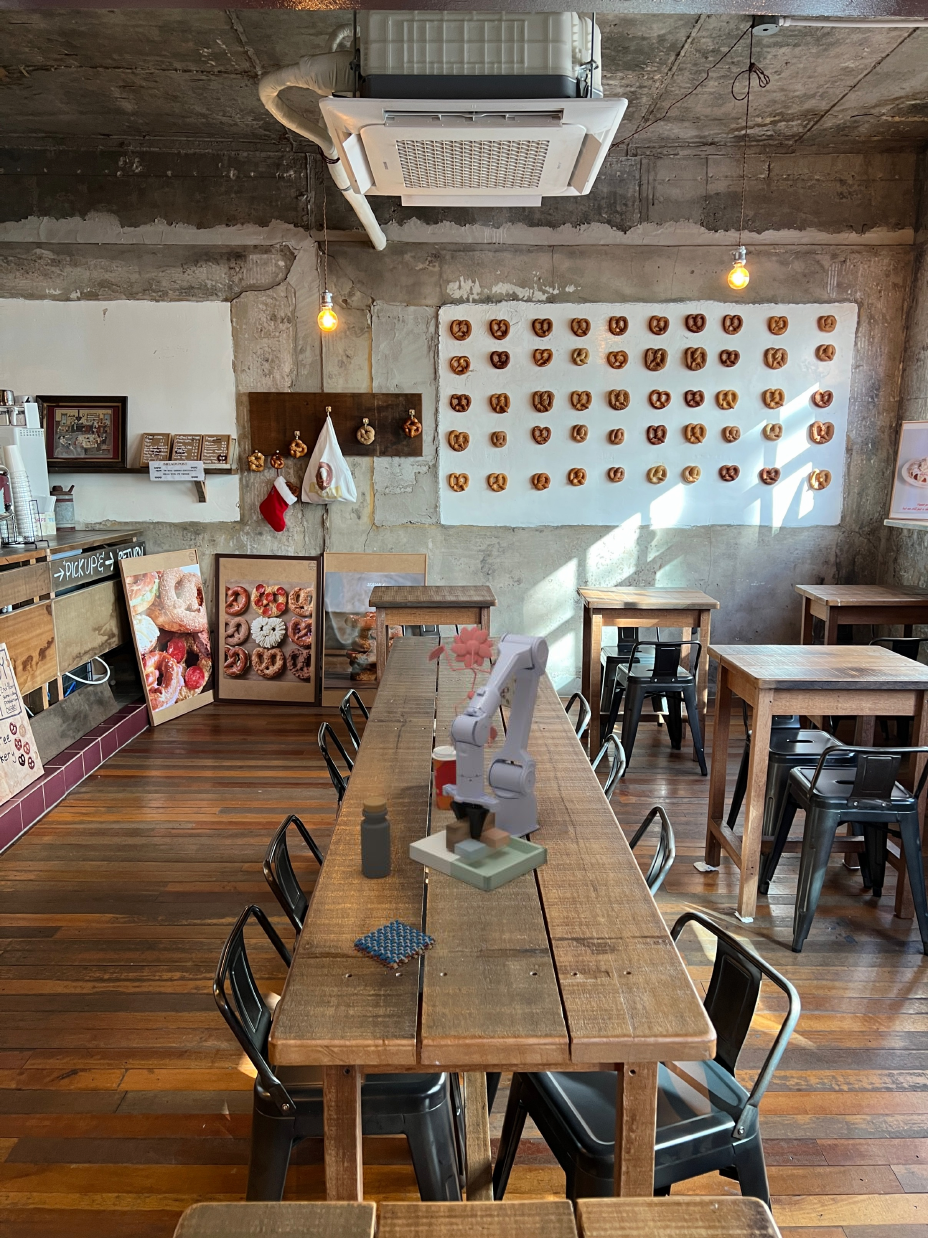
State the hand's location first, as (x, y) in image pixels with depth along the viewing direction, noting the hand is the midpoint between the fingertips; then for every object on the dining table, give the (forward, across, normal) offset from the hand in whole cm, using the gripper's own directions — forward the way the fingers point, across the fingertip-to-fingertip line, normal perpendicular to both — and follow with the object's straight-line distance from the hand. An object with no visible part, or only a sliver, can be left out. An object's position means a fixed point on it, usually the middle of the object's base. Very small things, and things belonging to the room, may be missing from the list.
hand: (470, 835), depth 180 cm
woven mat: (+6, +15, -34) cm, 38 cm away
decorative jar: (+5, -78, +101) cm, 127 cm away
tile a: (+2, +3, +4) cm, 5 cm away
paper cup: (+5, -24, +17) cm, 30 cm away
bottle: (+5, -9, -18) cm, 21 cm away
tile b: (+2, +3, -4) cm, 5 cm away
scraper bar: (+1, 0, 0) cm, 1 cm away
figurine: (+5, -56, +59) cm, 81 cm away
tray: (+5, +8, 0) cm, 9 cm away
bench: (+5, -3, 0) cm, 6 cm away
